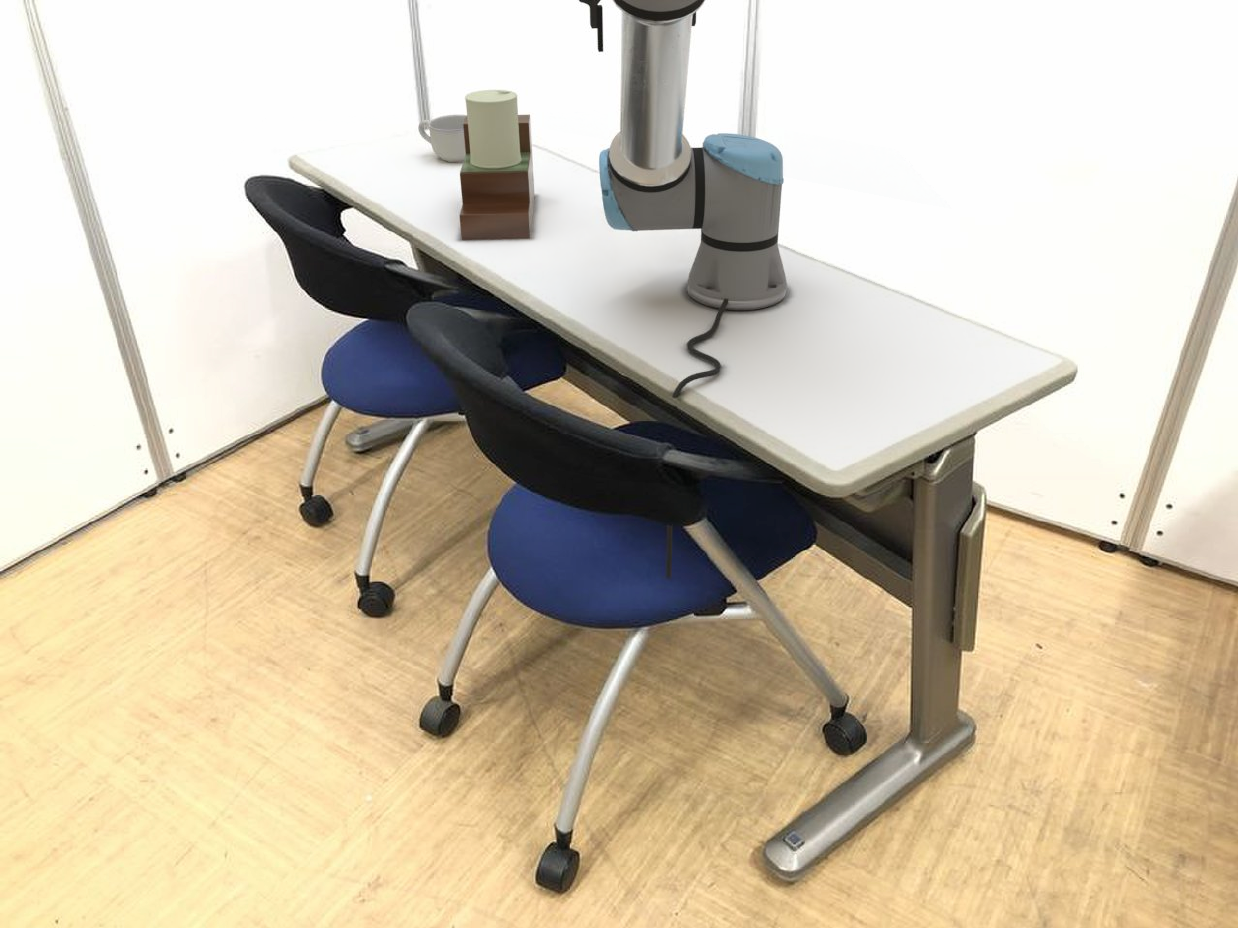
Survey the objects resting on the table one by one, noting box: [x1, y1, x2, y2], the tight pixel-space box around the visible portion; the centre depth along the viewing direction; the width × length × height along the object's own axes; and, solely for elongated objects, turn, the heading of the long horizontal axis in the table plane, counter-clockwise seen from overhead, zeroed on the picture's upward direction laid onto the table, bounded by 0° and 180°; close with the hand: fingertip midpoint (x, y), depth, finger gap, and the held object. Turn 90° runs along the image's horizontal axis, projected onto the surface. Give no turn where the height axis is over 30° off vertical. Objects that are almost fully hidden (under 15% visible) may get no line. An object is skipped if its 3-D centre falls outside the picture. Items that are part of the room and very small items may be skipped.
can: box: [464, 89, 522, 169], centre depth 185 cm, size 9×9×12 cm
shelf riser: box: [459, 114, 535, 241], centre depth 190 cm, size 24×12×16 cm, turn 2°
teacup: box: [418, 114, 467, 163], centre depth 225 cm, size 14×11×8 cm
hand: (642, 49), depth 167 cm, fingers open, 13 cm apart
